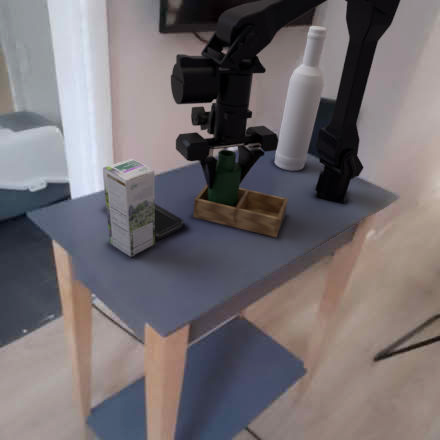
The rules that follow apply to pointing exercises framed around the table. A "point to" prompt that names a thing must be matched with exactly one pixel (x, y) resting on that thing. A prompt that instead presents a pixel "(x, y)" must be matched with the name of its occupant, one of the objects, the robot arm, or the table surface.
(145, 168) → the syrup box
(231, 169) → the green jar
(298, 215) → the table surface
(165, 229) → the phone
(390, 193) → the table surface
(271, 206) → the wooden divided tray
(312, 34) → the bottle
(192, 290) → the table surface
